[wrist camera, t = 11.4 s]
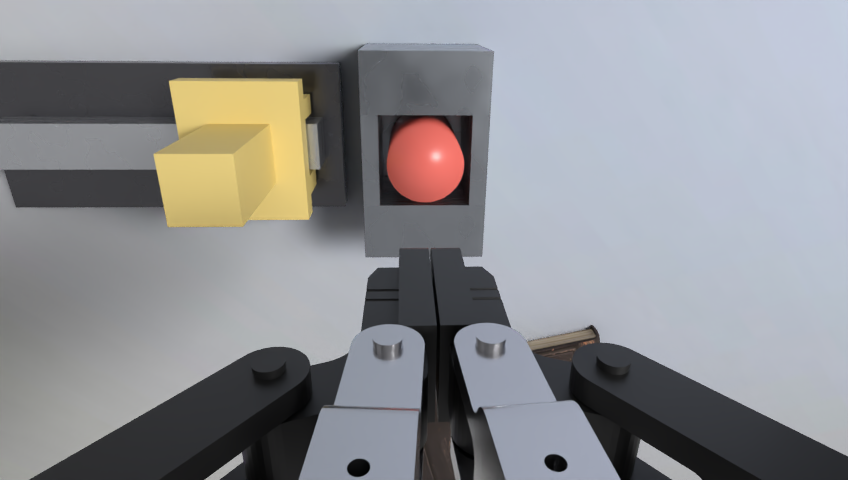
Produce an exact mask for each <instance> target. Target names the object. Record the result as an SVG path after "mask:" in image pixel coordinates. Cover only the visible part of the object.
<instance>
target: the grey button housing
mask: <svg viewBox="0 0 848 480" xmlns="http://www.w3.org/2000/svg"><path fill="white" fill-rule="evenodd" d="M493 57H494V51H492V50H489V49H487V48H485V47H482V46H480V45H477V44H376V43H367V44H365V45H364V46H363V47H361V48H360V49H359V50H358V73H359V99H360V125H361V150H362V176H363V202H364V228H365V253H366V257H399V248H428V249H429V257H430V250H431V248H460V249H461V253H462V257H477V256H482V249H483V232H484V215H485V197H486V180H487V162H488V145H489V127H490V110H491V92H492V75H493ZM402 115H442V116H443V117H445V118H446V119H447V121H448V122H449V123H450V125H451V127H452V129H453V131H454V134H455V136H456V139H457V141H458V144H459V146H460V148H461V151H462V154H463V158H464V171H463V175H462V178H461V180H460V182H459V184H458V185H457V187H456V188H455V189H454V190H453V191H452V192H451V193H450V194H449V195H447V196H446V197H444V198H442V199H440V200H437V201H433V202H417V201H413V200H410V199H408V198H406V197H404V196H403V195H401V194H400V193H399V192H398V191H397V190H396V189H395V188H394V186H393V185H392V183H391V181H390V179H389V176H388V172H387V157H388V149H389V140H390V134H391V131H392V128H393V126H394V124H395V123H396V121H397V120H398V119H399V118H400V117H401V116H402Z"/></svg>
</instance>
